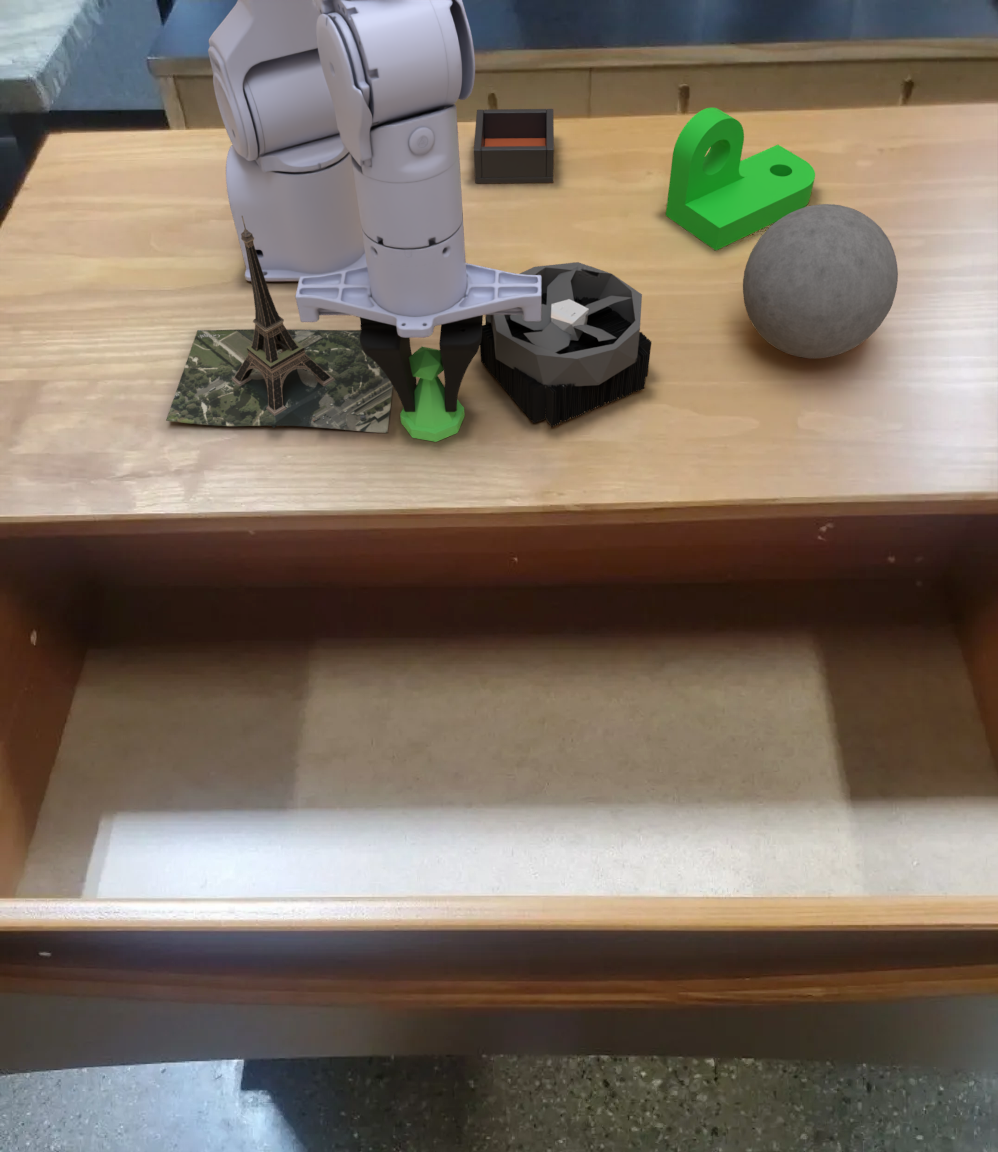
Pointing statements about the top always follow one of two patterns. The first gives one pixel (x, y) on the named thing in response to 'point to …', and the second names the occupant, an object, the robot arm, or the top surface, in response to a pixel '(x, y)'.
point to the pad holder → (514, 146)
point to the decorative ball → (820, 281)
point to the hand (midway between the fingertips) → (430, 401)
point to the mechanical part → (731, 181)
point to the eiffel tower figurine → (280, 374)
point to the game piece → (430, 400)
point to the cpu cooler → (570, 344)
